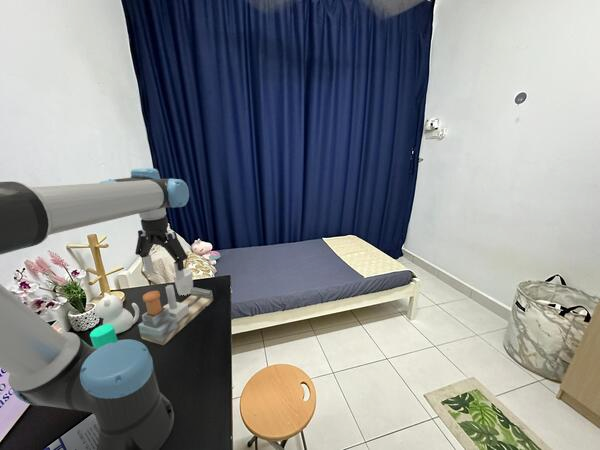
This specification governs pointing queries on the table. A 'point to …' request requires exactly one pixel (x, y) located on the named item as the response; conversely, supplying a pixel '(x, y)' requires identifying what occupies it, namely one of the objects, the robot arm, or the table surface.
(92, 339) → the candle
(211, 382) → the table surface
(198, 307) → the rail board
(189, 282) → the white cup
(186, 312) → the carriage
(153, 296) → the plunger
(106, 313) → the cat figurine
